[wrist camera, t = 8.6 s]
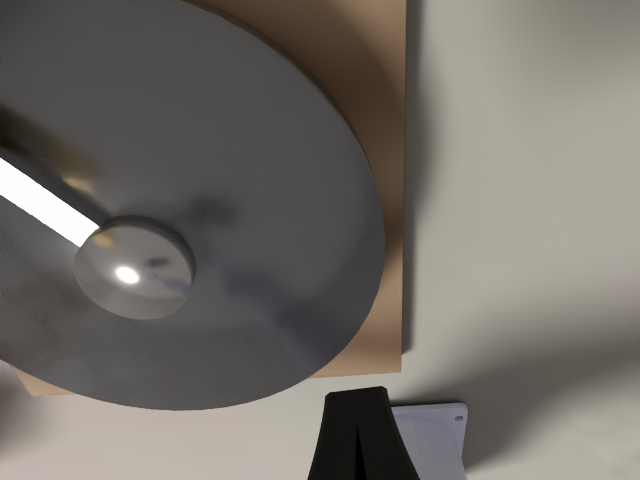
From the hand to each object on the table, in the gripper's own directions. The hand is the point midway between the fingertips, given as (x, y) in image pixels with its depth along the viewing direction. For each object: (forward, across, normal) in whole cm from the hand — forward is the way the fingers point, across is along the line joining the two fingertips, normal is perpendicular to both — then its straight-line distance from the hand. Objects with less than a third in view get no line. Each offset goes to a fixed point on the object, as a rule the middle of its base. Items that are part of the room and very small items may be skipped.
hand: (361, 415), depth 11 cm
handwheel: (+9, +8, -1) cm, 12 cm away
